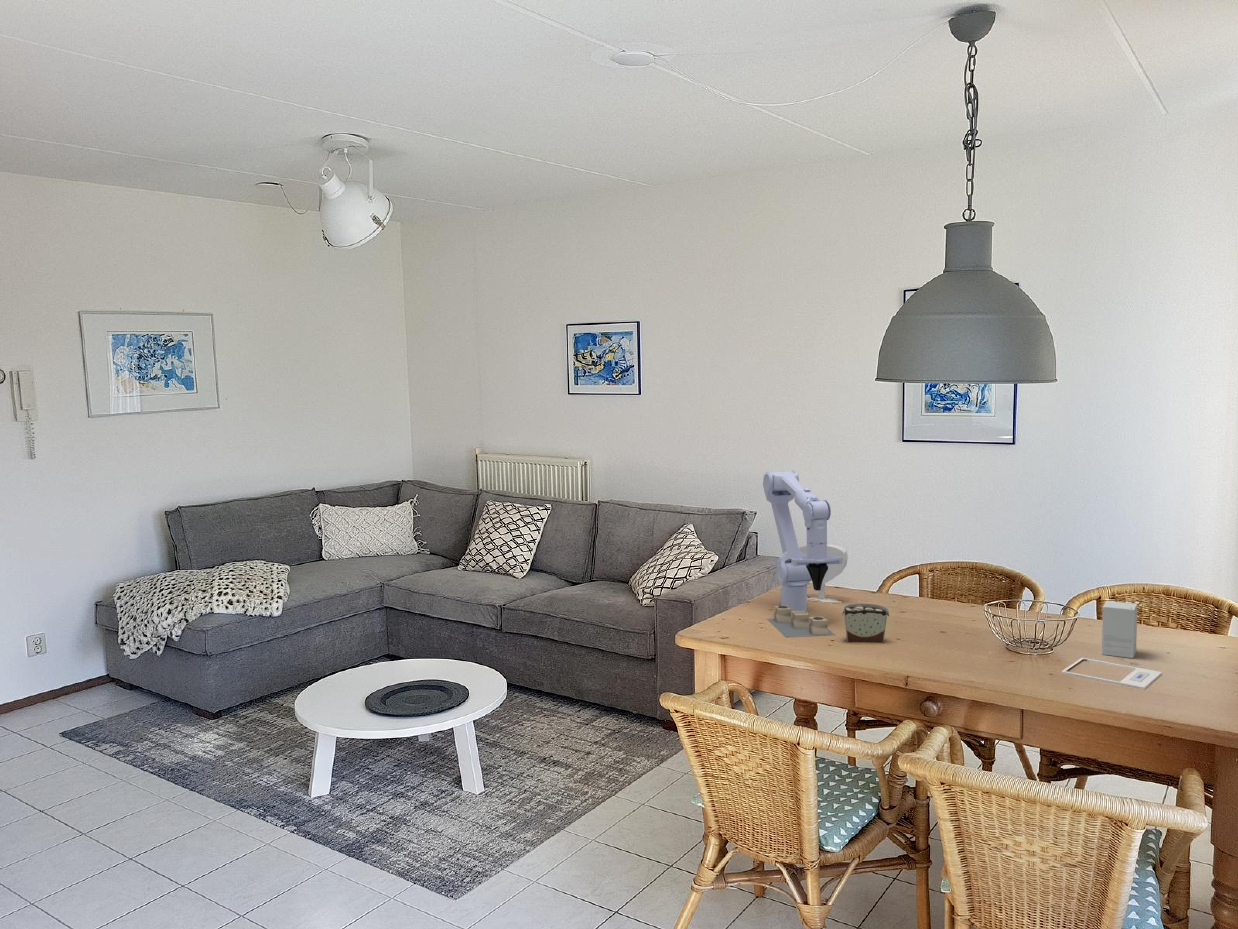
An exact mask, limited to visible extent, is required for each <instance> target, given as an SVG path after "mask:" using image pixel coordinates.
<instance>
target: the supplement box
mask: <svg viewBox="0 0 1238 929" xmlns="http://www.w3.org/2000/svg"><path fill="white" fill-rule="evenodd" d="M1101 625H1102V629H1101V633H1102V634H1101V635H1102V637H1101V655H1105V656H1112V657H1118V658H1119V657H1120V658H1128V659H1129V658H1130V659H1134V658H1135V655H1136V654H1137V653H1136V652H1137V638H1138V637H1137V633H1138V632H1137V627H1138V603H1134V602H1133V603H1132V602H1123V601H1113V600H1111V601H1110V600H1106V602H1104V604H1103V606H1102V624H1101Z"/></svg>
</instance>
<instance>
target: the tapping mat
mask: <svg viewBox="0 0 1238 929" xmlns="http://www.w3.org/2000/svg"><path fill="white" fill-rule="evenodd" d="M766 620H767V621H768V622H769V623H770V624H771V625H772V626H773V627H774V628H775V629H776V630H778V632H779V633H781V634H782V636H784V638H786V639H787V638H805V637H806V638H807V637H809V638H810V637H811V638H812V637H825V636H827V637H828V636H836V634H835V633H834V632H832V631H831V630H830V629H829V628H828V634H827V635H813V634H812V633H810V632H809V628H803V629H795V628H794V627H793V626H792V625H791V622H787V623H778V622H776V621H775V620H774V617H773V618H766Z"/></svg>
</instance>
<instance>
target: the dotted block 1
mask: <svg viewBox="0 0 1238 929" xmlns="http://www.w3.org/2000/svg"><path fill="white" fill-rule="evenodd" d="M773 611H774V612H773V618H774V620H775V621H776V622H778V623H787V622H791V611H792V609H791V608H790V607H789V606H788V605H784V606H781V605H773Z"/></svg>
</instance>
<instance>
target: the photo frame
mask: <svg viewBox="0 0 1238 929" xmlns="http://www.w3.org/2000/svg"><path fill="white" fill-rule="evenodd" d="M1082 660H1083V661H1087V662H1090V663H1095V664H1101V665H1106V666H1110V667H1111V666H1112V667H1117V668H1123V669H1128V670H1132V671H1131V672H1130V673H1129V674H1127V675H1126V676H1125V677H1124V678H1122V679H1121V680H1120V681H1118V680H1113V679H1108V678H1103V677H1102V678H1101V677H1096V676H1092V675H1087V674H1082V673H1081V674H1080V673H1076V672H1071V671H1068V670H1069V669H1070V668H1072V667H1073V666H1075V665H1076V664H1078V663H1079V662H1082ZM1061 674H1063V675H1067V674H1068V675H1069V676H1072V675H1073V677H1078V678H1083V679H1088V680H1094V681H1100V682H1104V683H1109V684H1113V685H1118V686H1119V685H1120V686H1124V687H1130V688H1134V689H1139V690H1140V689H1141V690H1145V689H1147V688H1148V687H1149V686H1150V685H1151V684H1153V683H1154V682H1155V681H1156V680H1157V679H1158V678H1159V677H1160V676H1161V675H1162V674H1163V672H1162V671H1158V670H1152V669H1147V668H1141V667H1135V666H1130V665H1125V664H1120V663H1114V662H1108V661H1102V660H1099V659H1098V660H1097V659H1093V658H1087V657H1080V658H1079V659H1077V660H1076V661H1075V662H1072V663H1071V664H1070V665H1068V666H1067V667H1066V668H1064V669H1063V670H1061Z"/></svg>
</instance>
